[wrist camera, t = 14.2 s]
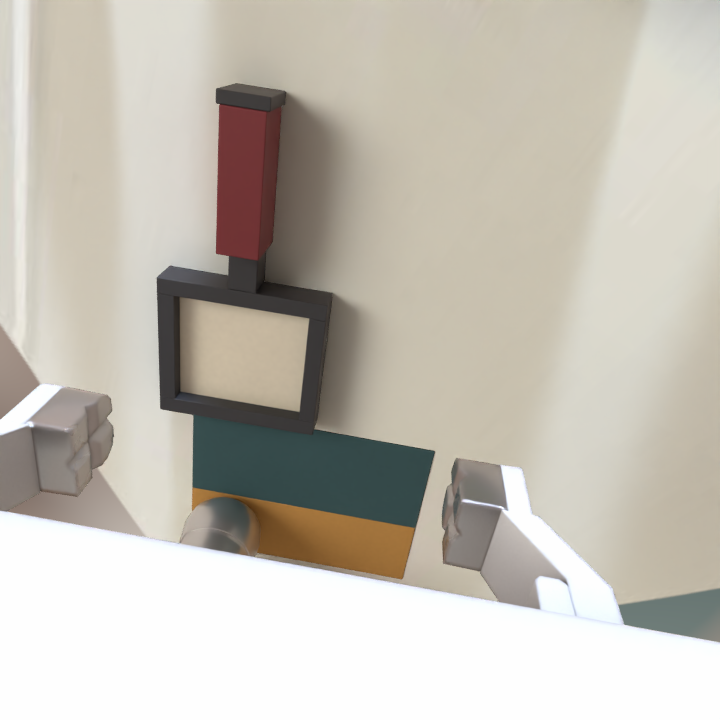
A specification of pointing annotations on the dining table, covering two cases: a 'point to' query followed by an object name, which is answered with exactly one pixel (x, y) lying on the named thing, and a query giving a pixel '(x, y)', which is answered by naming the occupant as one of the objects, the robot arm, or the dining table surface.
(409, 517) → the mat
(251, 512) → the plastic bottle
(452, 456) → the dining table surface
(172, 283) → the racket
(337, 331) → the dining table surface
